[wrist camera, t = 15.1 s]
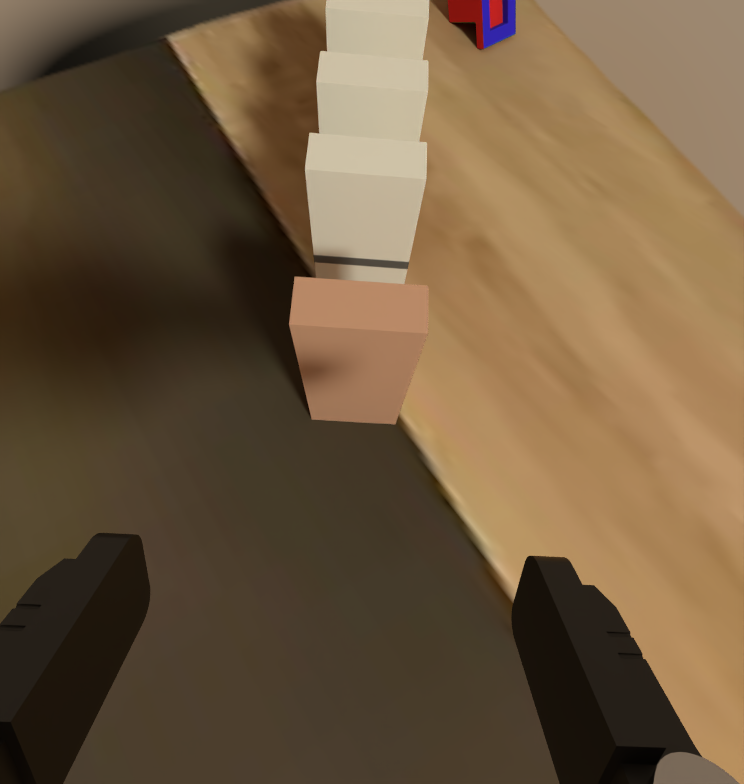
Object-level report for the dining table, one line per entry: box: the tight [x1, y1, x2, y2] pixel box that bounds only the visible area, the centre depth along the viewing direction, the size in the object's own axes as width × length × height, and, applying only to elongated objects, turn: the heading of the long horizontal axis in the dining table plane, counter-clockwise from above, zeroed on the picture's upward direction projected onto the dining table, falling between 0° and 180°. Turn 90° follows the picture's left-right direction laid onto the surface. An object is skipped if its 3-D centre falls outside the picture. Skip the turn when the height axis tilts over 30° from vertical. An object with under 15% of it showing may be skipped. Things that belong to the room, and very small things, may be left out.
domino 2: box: [305, 133, 427, 284], centre depth 25 cm, size 5×2×12 cm, turn 87°
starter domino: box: [289, 277, 428, 424], centre depth 23 cm, size 5×2×12 cm, turn 87°
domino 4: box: [326, 0, 429, 60], centre depth 29 cm, size 5×2×12 cm, turn 87°
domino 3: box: [316, 51, 428, 142], centre depth 27 cm, size 5×2×12 cm, turn 87°
